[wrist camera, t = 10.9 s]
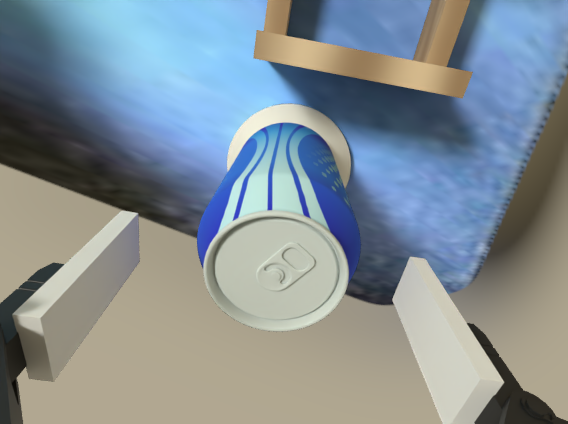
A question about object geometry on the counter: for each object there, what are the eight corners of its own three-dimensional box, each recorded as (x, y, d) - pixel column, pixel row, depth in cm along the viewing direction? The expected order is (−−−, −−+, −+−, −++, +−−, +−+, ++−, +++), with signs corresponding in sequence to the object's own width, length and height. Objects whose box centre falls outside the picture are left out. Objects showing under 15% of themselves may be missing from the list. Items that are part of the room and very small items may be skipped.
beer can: (335, 206, 31) (369, 342, 16) (246, 213, 31) (203, 349, 17) (332, 114, 27) (372, 183, 13) (232, 124, 28) (161, 199, 13)
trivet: (223, 210, 32) (221, 212, 31) (235, 92, 27) (233, 92, 27) (333, 229, 32) (334, 232, 32) (364, 116, 28) (366, 117, 27)
